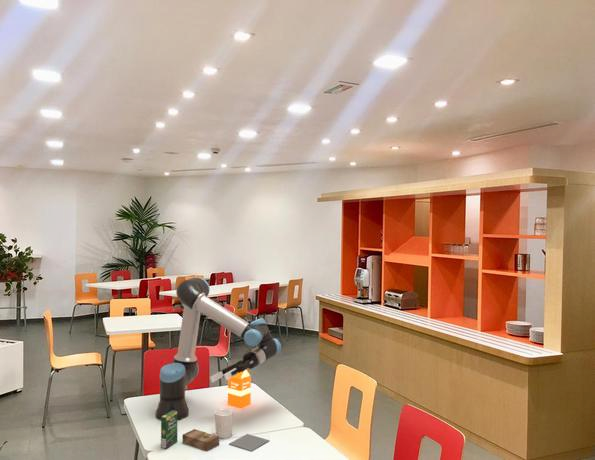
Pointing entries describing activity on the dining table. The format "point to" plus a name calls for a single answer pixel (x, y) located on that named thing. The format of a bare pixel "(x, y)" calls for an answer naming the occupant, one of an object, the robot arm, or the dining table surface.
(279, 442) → the dining table surface
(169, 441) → the coffee box
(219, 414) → the white cup
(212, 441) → the walnut block
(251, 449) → the mat
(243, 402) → the orange juice
